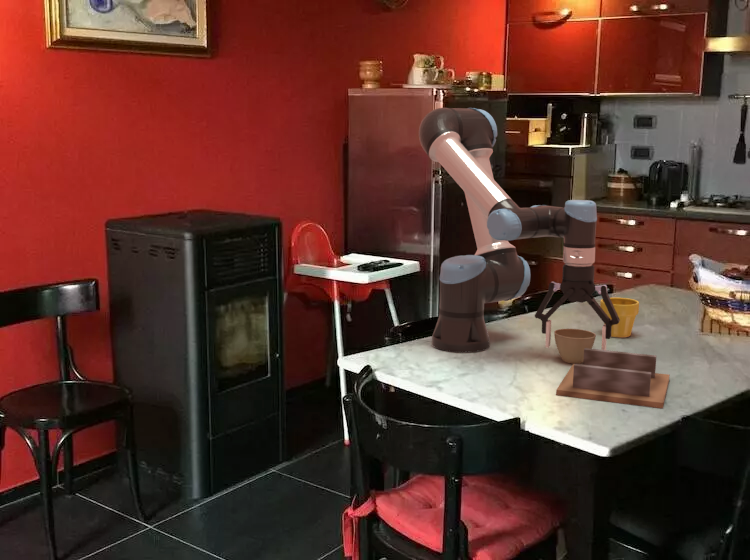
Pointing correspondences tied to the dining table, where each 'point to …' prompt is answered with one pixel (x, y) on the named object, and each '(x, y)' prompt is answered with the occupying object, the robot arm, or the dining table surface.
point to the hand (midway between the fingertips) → (575, 349)
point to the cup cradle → (616, 379)
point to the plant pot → (622, 315)
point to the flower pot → (573, 344)
